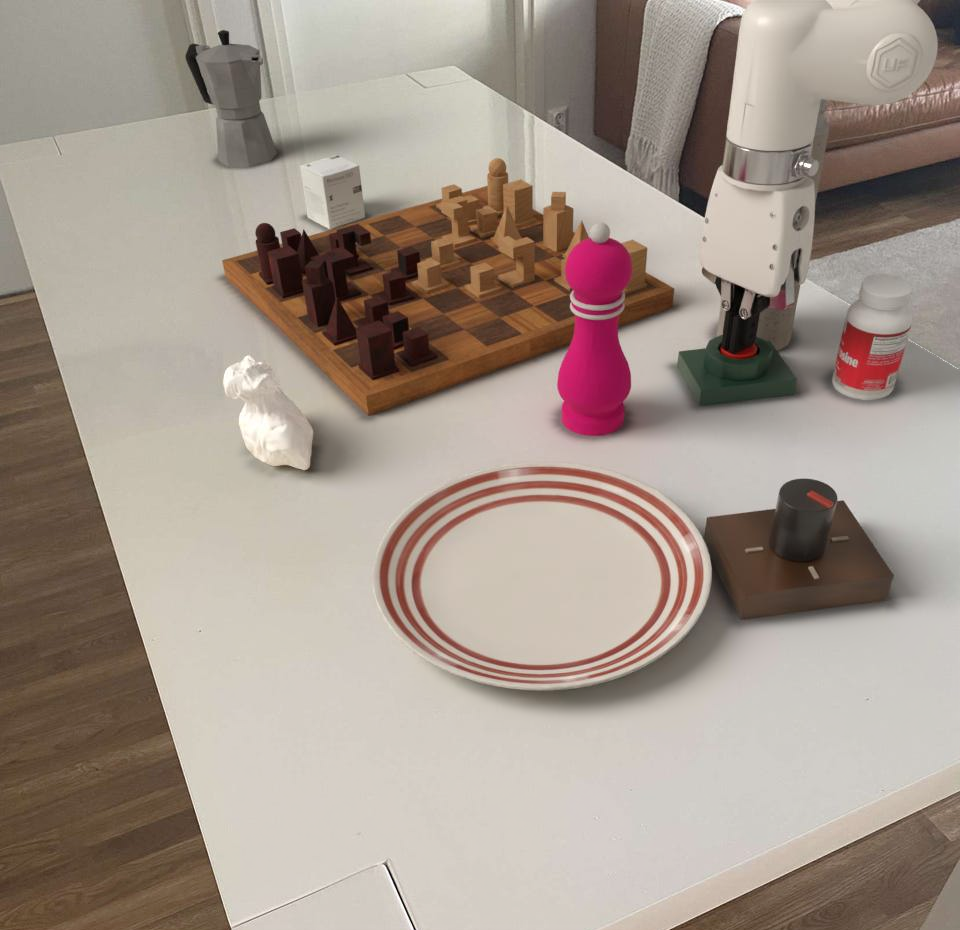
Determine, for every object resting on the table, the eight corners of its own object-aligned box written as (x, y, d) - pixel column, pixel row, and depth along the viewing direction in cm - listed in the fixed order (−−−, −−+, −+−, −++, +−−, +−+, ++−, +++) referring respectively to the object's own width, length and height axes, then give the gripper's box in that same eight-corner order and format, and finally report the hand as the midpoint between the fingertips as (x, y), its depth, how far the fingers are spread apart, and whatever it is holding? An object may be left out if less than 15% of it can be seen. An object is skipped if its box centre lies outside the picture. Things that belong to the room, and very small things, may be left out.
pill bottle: (824, 373, 106) (846, 271, 99) (883, 371, 106) (910, 269, 98) (839, 404, 102) (863, 300, 94) (900, 402, 102) (930, 298, 94)
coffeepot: (299, 155, 160) (278, 26, 147) (259, 175, 155) (234, 43, 142) (227, 141, 166) (201, 16, 154) (187, 160, 161) (157, 32, 148)
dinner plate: (706, 728, 72) (712, 697, 70) (339, 694, 76) (332, 663, 74) (708, 500, 92) (712, 469, 89) (414, 482, 96) (411, 452, 93)
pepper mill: (615, 397, 105) (627, 202, 91) (638, 434, 100) (653, 233, 86) (548, 408, 104) (549, 212, 90) (567, 446, 99) (571, 245, 85)
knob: (757, 542, 82) (768, 490, 78) (793, 521, 84) (804, 468, 80) (800, 569, 80) (813, 516, 76) (836, 546, 81) (850, 492, 78)
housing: (766, 359, 109) (772, 325, 106) (793, 397, 103) (800, 362, 100) (676, 369, 108) (680, 335, 105) (698, 409, 102) (703, 373, 100)
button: (748, 352, 105) (750, 336, 104) (759, 369, 103) (762, 353, 102) (714, 356, 105) (716, 340, 104) (725, 373, 102) (727, 357, 101)
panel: (836, 527, 88) (843, 498, 86) (885, 603, 81) (894, 573, 79) (702, 544, 87) (706, 515, 85) (740, 623, 80) (745, 593, 78)
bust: (270, 441, 106) (183, 379, 98) (319, 389, 104) (234, 322, 96) (295, 504, 97) (203, 442, 90) (349, 449, 96) (259, 381, 88)
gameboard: (672, 309, 118) (679, 231, 111) (368, 418, 104) (357, 336, 97) (490, 203, 143) (488, 135, 136) (226, 280, 129) (209, 207, 122)
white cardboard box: (330, 232, 138) (322, 176, 133) (307, 219, 142) (298, 164, 137) (366, 219, 141) (360, 164, 136) (343, 207, 144) (335, 153, 139)
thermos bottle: (740, 314, 116) (780, 41, 97) (803, 334, 112) (857, 53, 93) (702, 342, 112) (736, 62, 92) (766, 363, 108) (815, 76, 89)
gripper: (862, 170, 87) (820, 362, 100) (731, 128, 96) (708, 310, 109) (806, 193, 84) (770, 388, 97) (675, 148, 93) (658, 333, 105)
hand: (737, 346), depth 103 cm, fingers closed
